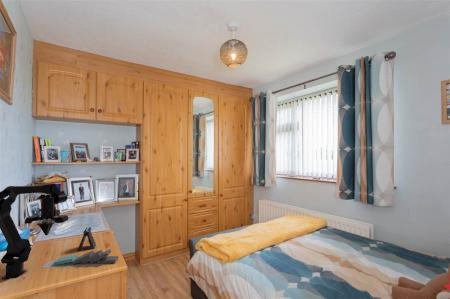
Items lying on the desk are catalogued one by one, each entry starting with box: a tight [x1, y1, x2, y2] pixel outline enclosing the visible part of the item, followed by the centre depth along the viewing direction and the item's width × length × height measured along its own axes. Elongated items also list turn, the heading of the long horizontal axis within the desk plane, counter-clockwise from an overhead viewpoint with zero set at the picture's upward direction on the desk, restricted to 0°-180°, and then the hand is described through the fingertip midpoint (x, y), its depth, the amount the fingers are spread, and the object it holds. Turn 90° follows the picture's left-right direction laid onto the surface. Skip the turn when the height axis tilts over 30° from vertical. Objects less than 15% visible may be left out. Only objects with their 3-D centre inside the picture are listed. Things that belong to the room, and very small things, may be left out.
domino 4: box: [90, 248, 112, 263], centre depth 122 cm, size 5×2×9 cm
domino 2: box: [72, 249, 95, 265], centre depth 121 cm, size 5×2×9 cm
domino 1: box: [54, 253, 79, 266], centre depth 120 cm, size 5×2×9 cm
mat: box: [41, 259, 103, 269], centre depth 120 cm, size 8×28×1 cm, turn 97°
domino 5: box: [97, 255, 119, 265], centre depth 122 cm, size 5×2×9 cm
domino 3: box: [81, 249, 104, 264], centre depth 122 cm, size 5×2×9 cm
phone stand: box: [76, 226, 97, 252], centre depth 139 cm, size 9×6×12 cm, turn 110°
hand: (46, 235), depth 124 cm, fingers closed
